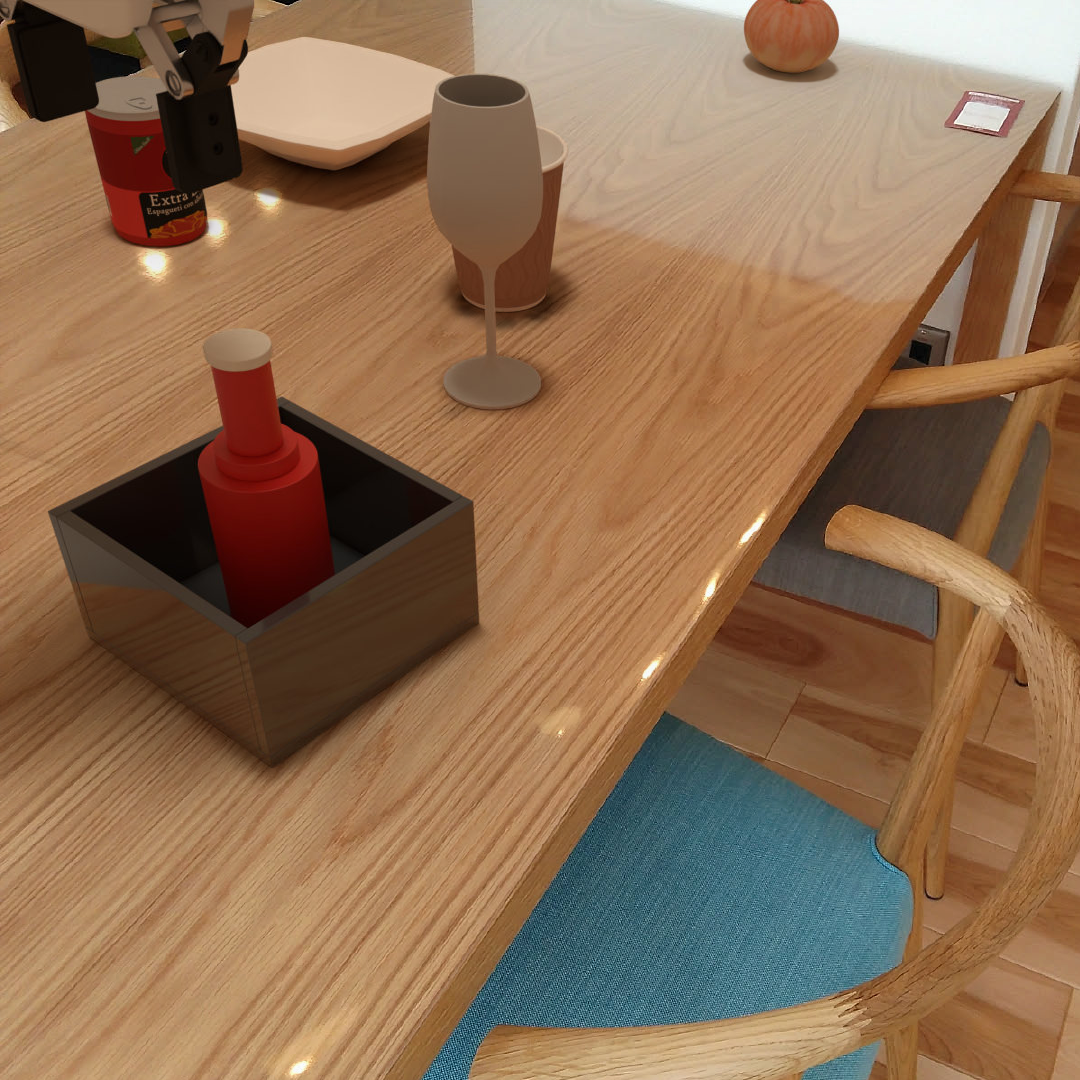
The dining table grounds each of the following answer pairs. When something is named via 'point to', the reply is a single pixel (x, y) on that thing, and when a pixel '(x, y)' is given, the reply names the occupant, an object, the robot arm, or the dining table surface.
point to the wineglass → (486, 210)
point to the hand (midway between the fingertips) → (135, 147)
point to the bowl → (330, 100)
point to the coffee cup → (531, 265)
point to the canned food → (140, 166)
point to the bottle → (261, 486)
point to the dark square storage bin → (300, 626)
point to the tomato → (791, 33)
